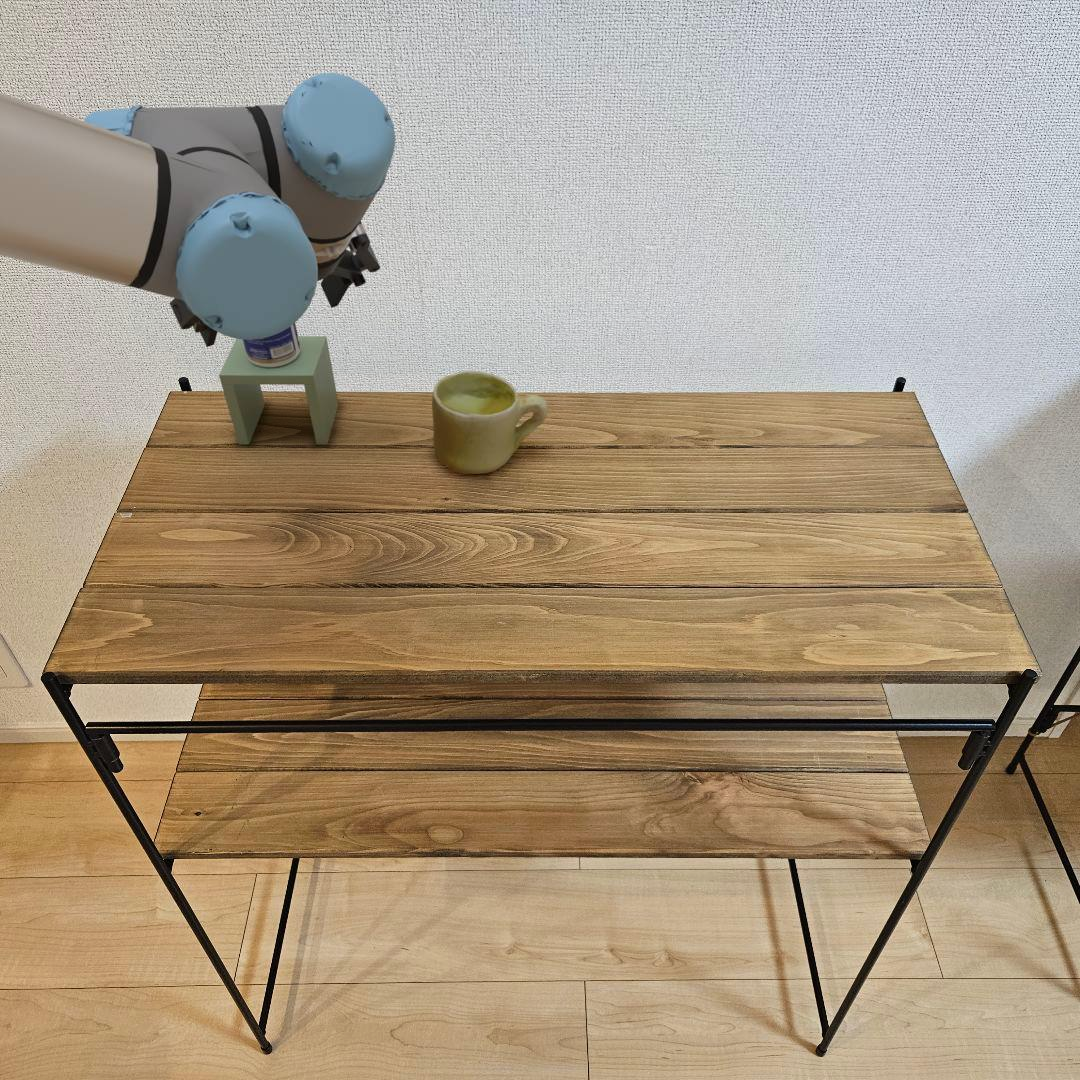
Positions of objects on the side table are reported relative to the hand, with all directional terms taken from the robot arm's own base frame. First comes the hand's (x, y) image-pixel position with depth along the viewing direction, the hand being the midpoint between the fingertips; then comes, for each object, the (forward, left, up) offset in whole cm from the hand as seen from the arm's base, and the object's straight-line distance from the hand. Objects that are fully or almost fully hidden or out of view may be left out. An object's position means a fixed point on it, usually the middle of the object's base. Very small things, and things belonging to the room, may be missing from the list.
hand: (268, 313), depth 91 cm
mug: (+20, -11, -15) cm, 27 cm away
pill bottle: (0, +2, -6) cm, 6 cm away
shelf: (0, +2, -15) cm, 15 cm away
